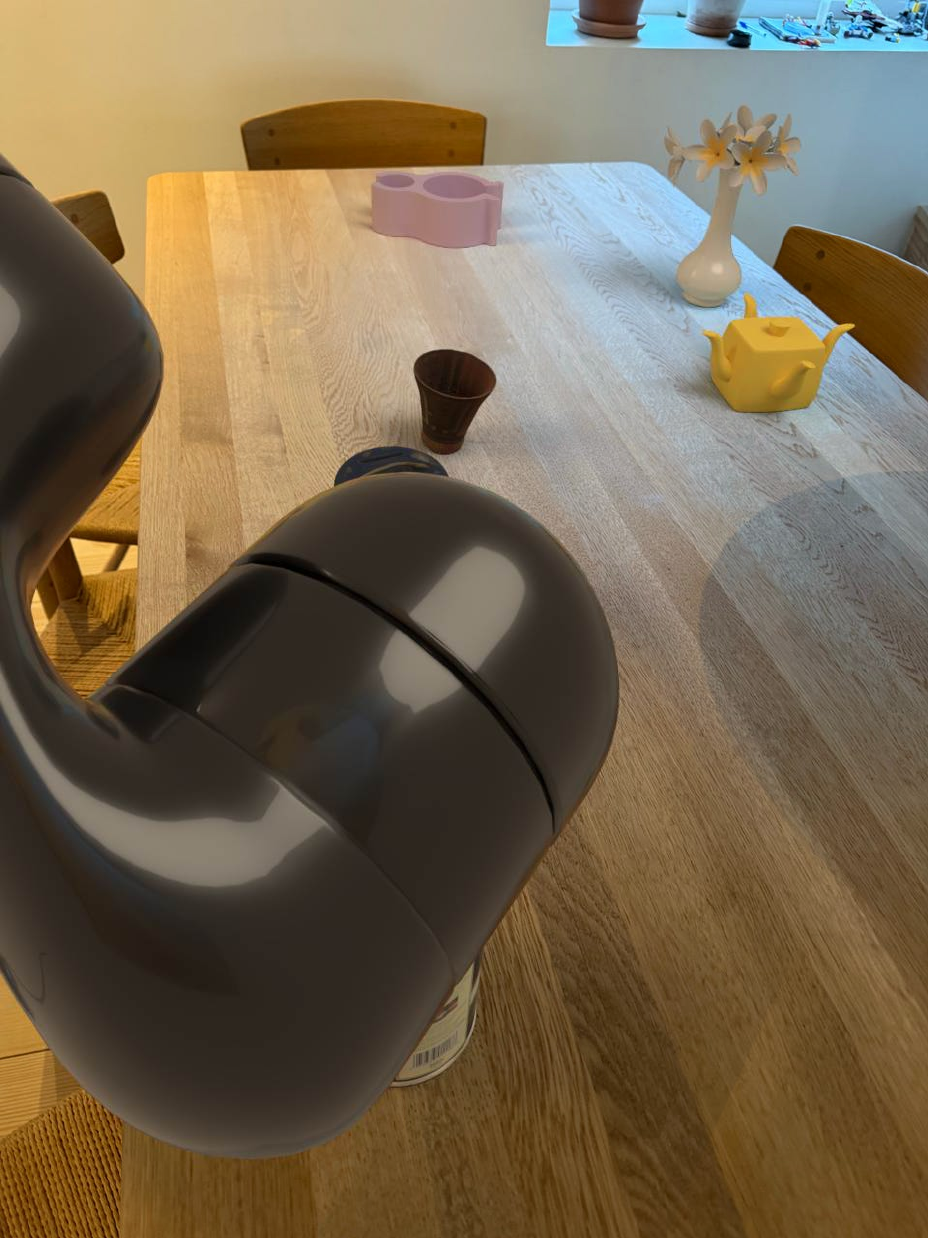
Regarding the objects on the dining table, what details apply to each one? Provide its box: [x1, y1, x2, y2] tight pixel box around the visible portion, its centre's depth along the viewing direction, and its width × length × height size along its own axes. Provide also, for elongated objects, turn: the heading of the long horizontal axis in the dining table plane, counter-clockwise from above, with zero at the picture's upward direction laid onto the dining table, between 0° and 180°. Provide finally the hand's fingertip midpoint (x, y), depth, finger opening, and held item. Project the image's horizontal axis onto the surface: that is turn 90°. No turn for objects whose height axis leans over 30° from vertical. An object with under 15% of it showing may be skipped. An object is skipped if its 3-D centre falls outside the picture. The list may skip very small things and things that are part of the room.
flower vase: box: [663, 104, 802, 308], centre depth 130 cm, size 13×18×25 cm
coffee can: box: [389, 948, 484, 1087], centre depth 57 cm, size 10×10×14 cm
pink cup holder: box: [370, 170, 505, 249], centre depth 150 cm, size 20×12×7 cm, turn 83°
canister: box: [333, 445, 450, 487], centre depth 81 cm, size 10×10×18 cm
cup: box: [412, 348, 497, 455], centre depth 105 cm, size 9×9×10 cm
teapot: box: [700, 293, 856, 413], centre depth 118 cm, size 15×14×10 cm
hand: (281, 1008), depth 45 cm, fingers closed
